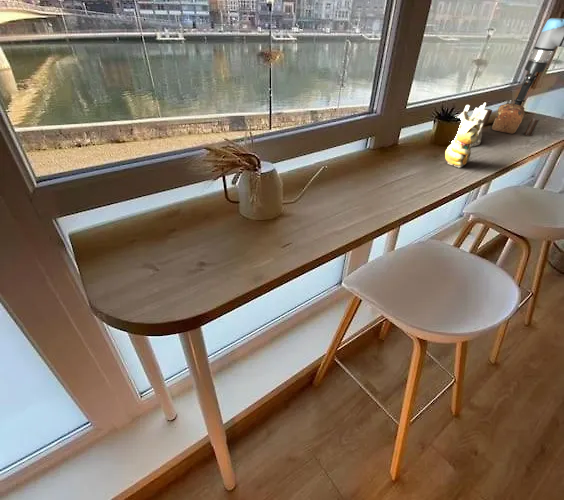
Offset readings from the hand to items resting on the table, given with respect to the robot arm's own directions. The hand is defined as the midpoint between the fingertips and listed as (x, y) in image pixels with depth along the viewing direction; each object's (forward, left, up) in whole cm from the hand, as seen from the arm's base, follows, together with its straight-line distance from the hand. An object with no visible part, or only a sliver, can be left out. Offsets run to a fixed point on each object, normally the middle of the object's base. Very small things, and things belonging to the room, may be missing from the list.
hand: (512, 115), depth 159 cm
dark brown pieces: (-1, +16, -3) cm, 16 cm away
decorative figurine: (+5, +74, -3) cm, 74 cm away
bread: (0, +12, -3) cm, 12 cm away
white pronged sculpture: (+11, +45, -3) cm, 46 cm away
